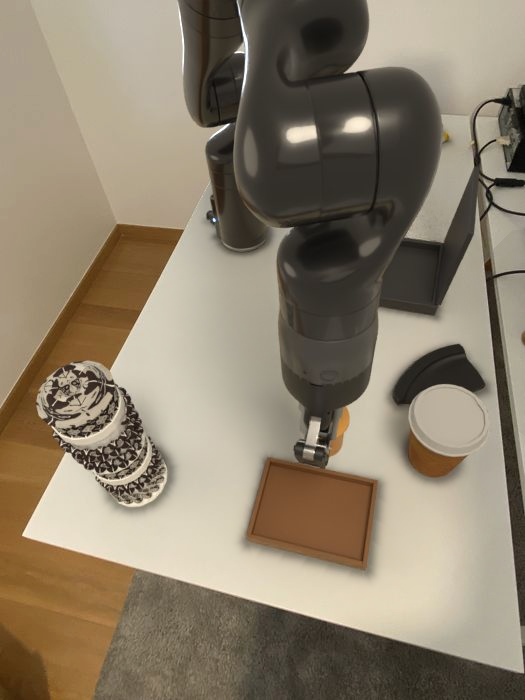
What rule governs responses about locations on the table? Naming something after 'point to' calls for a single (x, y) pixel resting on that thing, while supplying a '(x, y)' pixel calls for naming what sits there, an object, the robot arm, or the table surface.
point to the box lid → (458, 235)
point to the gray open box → (413, 277)
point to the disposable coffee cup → (445, 428)
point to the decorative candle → (102, 431)
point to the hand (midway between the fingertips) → (323, 438)
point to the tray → (314, 513)
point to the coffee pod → (340, 433)
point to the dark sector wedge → (438, 373)
